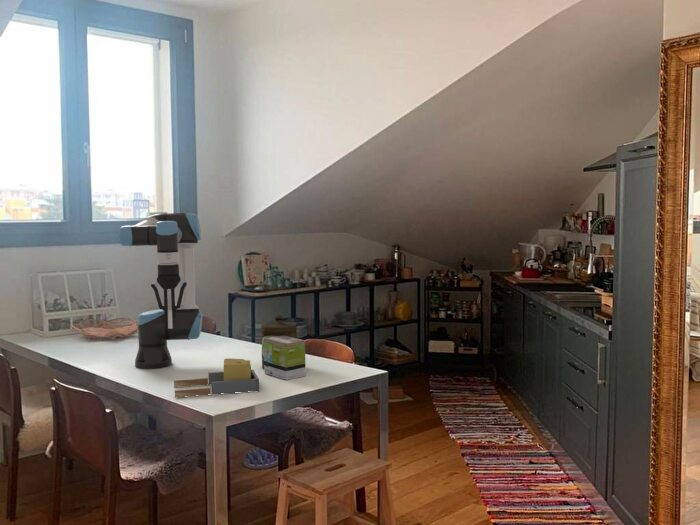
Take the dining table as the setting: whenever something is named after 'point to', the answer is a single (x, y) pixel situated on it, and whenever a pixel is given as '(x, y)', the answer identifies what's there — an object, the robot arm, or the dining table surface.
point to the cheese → (237, 369)
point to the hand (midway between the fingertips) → (170, 327)
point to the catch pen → (232, 383)
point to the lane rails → (191, 391)
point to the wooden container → (277, 331)
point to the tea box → (284, 357)
